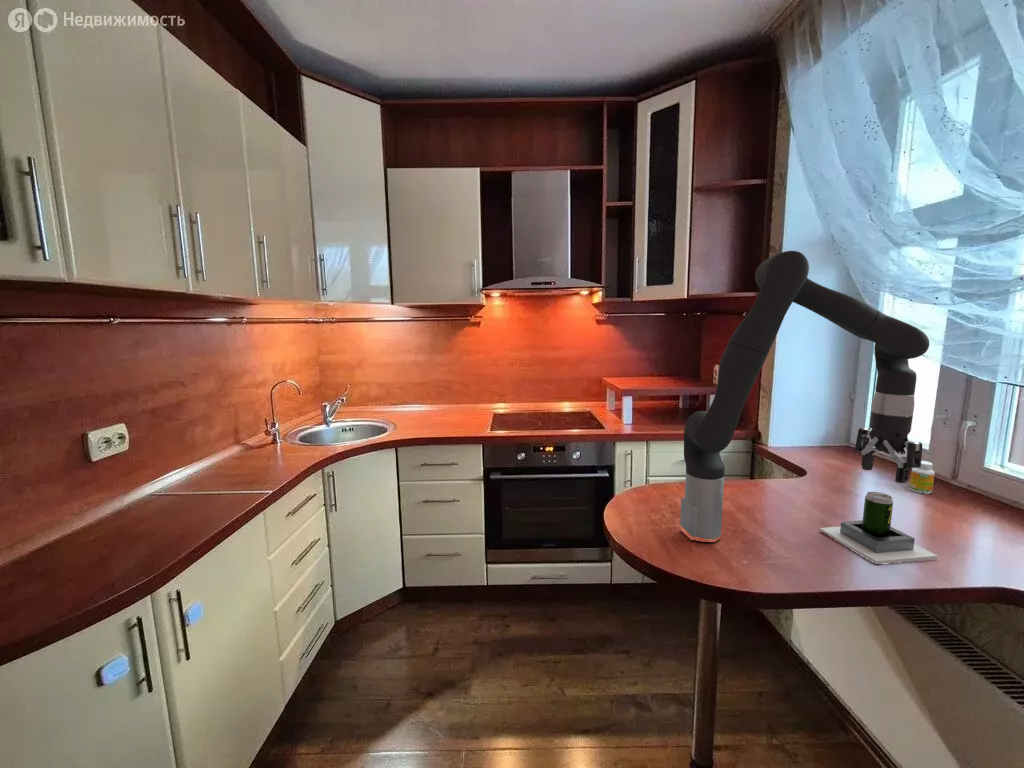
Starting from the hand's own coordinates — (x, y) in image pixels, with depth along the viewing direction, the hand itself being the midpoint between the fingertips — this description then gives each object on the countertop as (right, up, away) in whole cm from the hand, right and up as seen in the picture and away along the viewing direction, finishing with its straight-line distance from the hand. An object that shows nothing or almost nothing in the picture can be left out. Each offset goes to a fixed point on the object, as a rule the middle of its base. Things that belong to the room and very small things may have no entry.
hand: (883, 475), depth 105 cm
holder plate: (0, -18, +3) cm, 18 cm away
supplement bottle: (+42, -13, +34) cm, 56 cm away
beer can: (0, -17, +3) cm, 17 cm away
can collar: (0, -18, +3) cm, 18 cm away
